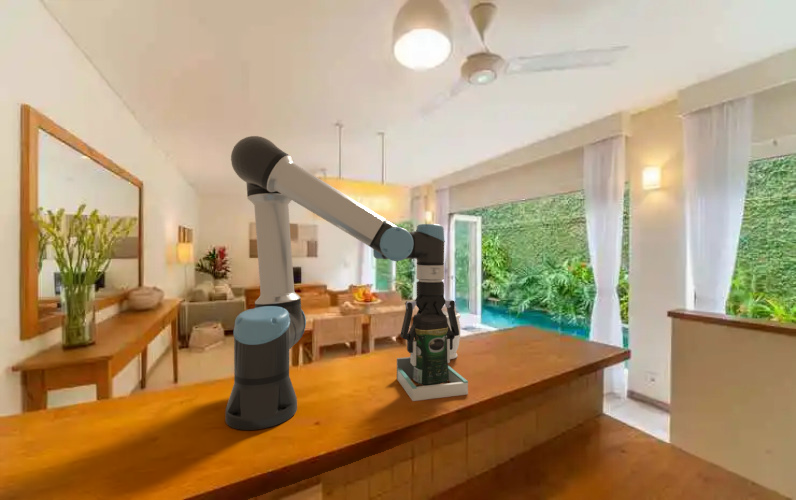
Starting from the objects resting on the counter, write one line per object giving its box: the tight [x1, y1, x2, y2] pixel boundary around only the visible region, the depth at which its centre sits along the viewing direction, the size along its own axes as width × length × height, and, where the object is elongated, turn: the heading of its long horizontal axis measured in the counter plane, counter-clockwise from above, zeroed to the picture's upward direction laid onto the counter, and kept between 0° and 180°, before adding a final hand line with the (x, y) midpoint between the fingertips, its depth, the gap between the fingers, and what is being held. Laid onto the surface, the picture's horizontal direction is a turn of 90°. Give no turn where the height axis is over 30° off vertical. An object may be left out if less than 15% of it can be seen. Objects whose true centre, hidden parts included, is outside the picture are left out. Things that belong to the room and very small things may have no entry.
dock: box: [396, 356, 469, 402], centre depth 93 cm, size 15×15×6 cm
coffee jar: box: [412, 313, 449, 386], centre depth 93 cm, size 10×8×19 cm
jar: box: [442, 310, 461, 360], centre depth 120 cm, size 11×10×15 cm
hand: (430, 362), depth 93 cm, fingers closed on coffee jar, 9 cm apart
